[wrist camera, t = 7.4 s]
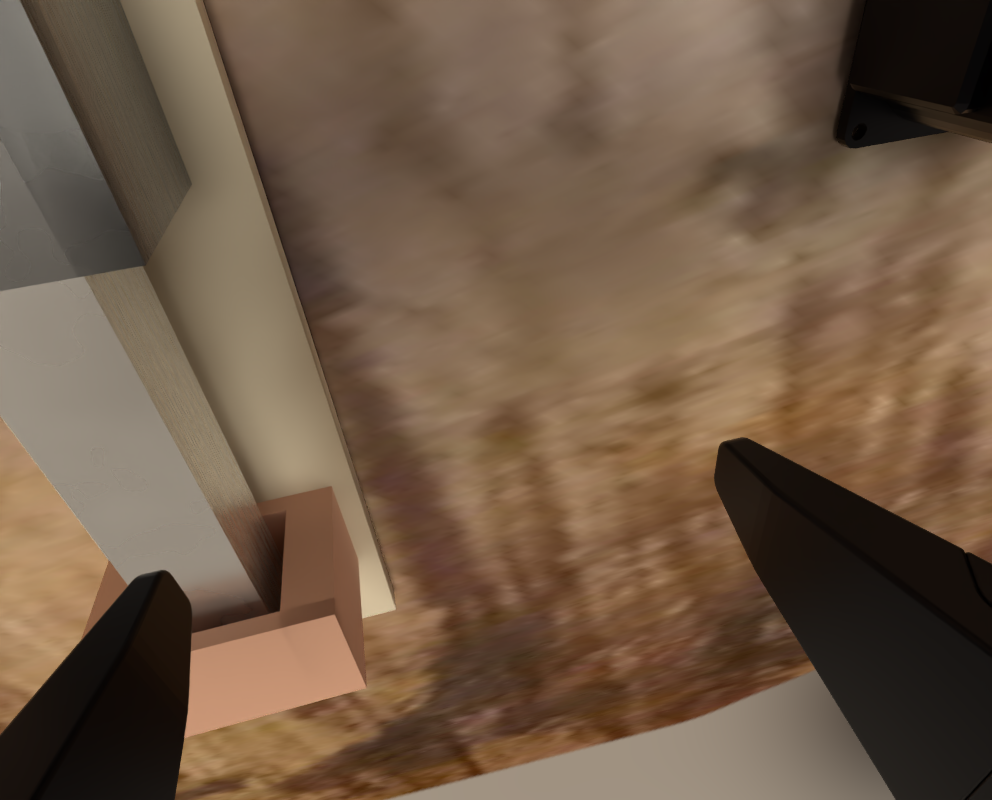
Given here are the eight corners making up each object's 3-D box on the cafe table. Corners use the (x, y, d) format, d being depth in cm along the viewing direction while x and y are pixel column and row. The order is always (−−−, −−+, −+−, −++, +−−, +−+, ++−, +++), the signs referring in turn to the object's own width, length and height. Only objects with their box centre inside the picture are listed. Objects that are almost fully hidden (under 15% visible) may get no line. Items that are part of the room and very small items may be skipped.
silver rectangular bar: (38, 48, 12) (-29, 69, 10) (290, 575, 22) (287, 648, 20) (-127, 69, 12) (-239, 97, 9) (206, 596, 22) (193, 672, 20)
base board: (89, -349, 11) (72, -373, 10) (393, 591, 28) (395, 609, 27) (-498, -318, 10) (-569, -342, 9) (190, 643, 27) (186, 663, 26)
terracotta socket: (331, 485, 22) (334, 614, 18) (358, 559, 25) (366, 687, 20) (117, 535, 21) (65, 683, 17) (168, 606, 24) (134, 751, 19)
